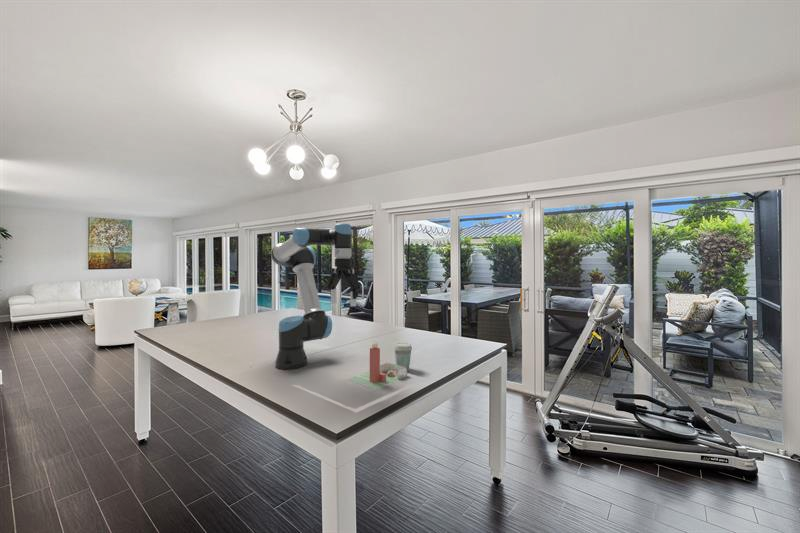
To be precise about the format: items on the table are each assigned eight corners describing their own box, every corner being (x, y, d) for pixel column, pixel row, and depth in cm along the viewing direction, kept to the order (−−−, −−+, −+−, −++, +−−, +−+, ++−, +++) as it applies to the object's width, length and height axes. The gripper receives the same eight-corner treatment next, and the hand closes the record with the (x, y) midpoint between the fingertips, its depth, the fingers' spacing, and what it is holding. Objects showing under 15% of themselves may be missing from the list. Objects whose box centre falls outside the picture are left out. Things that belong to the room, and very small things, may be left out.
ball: (391, 373, 156) (386, 378, 154) (388, 367, 155) (384, 373, 153) (397, 375, 154) (392, 381, 152) (394, 369, 153) (390, 375, 150)
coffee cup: (390, 369, 165) (390, 344, 164) (402, 365, 171) (402, 341, 171) (403, 374, 159) (403, 348, 159) (415, 369, 165) (415, 344, 165)
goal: (377, 376, 156) (377, 365, 156) (386, 372, 161) (386, 361, 161) (398, 382, 148) (398, 370, 148) (406, 378, 153) (406, 367, 153)
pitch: (346, 381, 149) (346, 379, 149) (369, 373, 159) (369, 370, 159) (376, 392, 137) (376, 389, 137) (399, 382, 148) (399, 380, 148)
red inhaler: (366, 380, 147) (366, 341, 147) (374, 377, 151) (374, 339, 151) (378, 384, 143) (378, 344, 142) (386, 381, 146) (386, 342, 146)
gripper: (319, 257, 163) (319, 303, 163) (355, 258, 147) (355, 308, 147) (332, 257, 169) (332, 301, 169) (368, 258, 152) (368, 306, 153)
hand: (343, 304), depth 158 cm, fingers open, 13 cm apart
